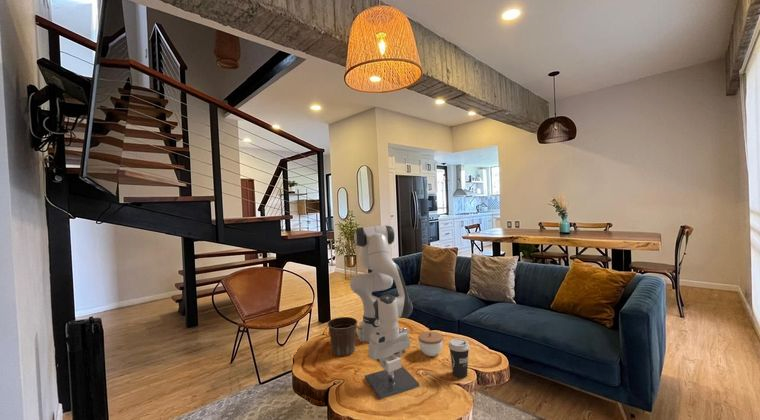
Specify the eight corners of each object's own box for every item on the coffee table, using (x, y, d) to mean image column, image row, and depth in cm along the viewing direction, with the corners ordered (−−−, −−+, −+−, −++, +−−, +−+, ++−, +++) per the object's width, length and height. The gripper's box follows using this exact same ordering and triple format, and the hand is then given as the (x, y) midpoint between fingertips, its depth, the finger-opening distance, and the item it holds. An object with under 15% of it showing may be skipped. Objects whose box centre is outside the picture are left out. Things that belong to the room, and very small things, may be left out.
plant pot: (361, 344, 183) (359, 316, 183) (356, 358, 167) (354, 328, 167) (333, 344, 185) (331, 316, 184) (325, 358, 169) (323, 328, 168)
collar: (380, 366, 145) (380, 357, 145) (393, 361, 149) (392, 352, 149) (388, 372, 139) (388, 363, 139) (401, 367, 143) (401, 358, 143)
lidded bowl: (436, 361, 161) (435, 340, 160) (414, 355, 168) (413, 334, 168) (447, 351, 171) (446, 330, 170) (426, 345, 178) (425, 326, 178)
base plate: (364, 378, 149) (364, 363, 148) (401, 368, 156) (400, 353, 156) (379, 399, 133) (378, 382, 133) (419, 386, 141) (418, 370, 140)
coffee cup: (455, 381, 143) (454, 348, 142) (445, 370, 152) (444, 339, 151) (474, 377, 145) (473, 344, 145) (463, 366, 155) (462, 336, 154)
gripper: (404, 324, 152) (405, 353, 152) (366, 336, 141) (367, 367, 142) (412, 329, 146) (413, 358, 147) (373, 341, 136) (374, 373, 136)
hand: (390, 363), depth 144 cm, fingers closed on collar, 7 cm apart
